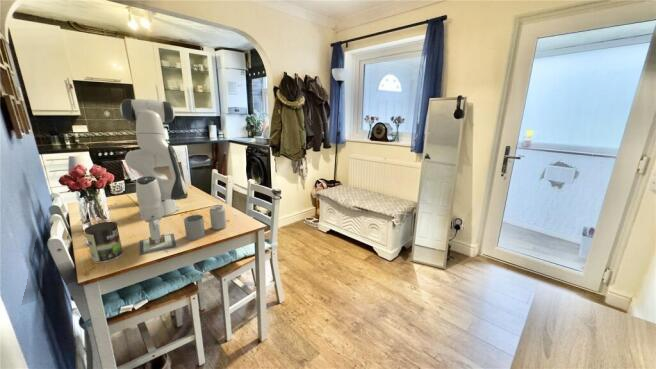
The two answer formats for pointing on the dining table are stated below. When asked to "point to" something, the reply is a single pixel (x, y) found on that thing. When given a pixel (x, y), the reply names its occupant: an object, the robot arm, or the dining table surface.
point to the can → (217, 217)
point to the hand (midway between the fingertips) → (157, 240)
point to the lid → (151, 244)
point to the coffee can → (104, 241)
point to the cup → (194, 227)
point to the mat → (159, 248)
